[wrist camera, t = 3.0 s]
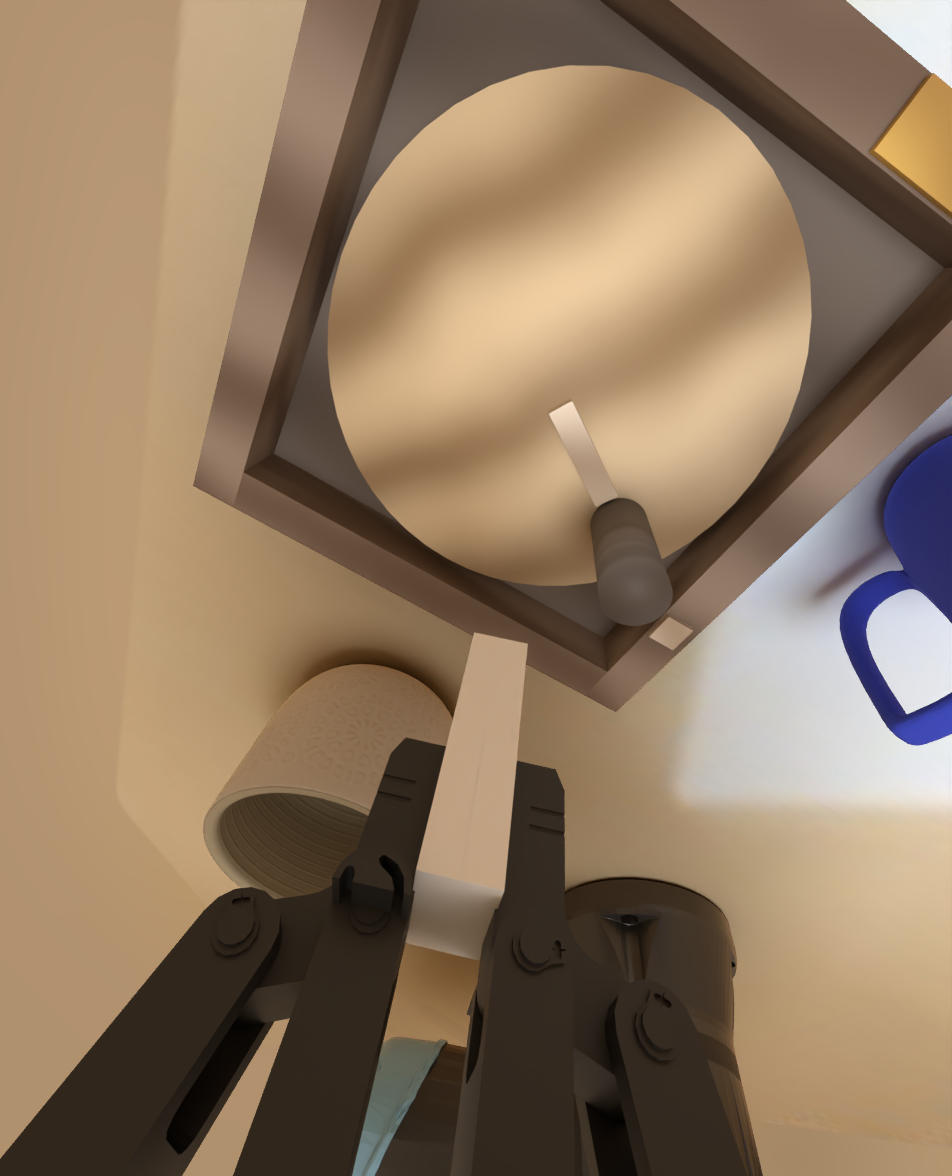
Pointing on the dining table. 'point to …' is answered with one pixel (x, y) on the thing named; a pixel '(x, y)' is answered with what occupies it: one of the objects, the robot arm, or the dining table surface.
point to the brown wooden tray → (808, 177)
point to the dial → (570, 330)
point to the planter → (317, 777)
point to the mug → (909, 584)
